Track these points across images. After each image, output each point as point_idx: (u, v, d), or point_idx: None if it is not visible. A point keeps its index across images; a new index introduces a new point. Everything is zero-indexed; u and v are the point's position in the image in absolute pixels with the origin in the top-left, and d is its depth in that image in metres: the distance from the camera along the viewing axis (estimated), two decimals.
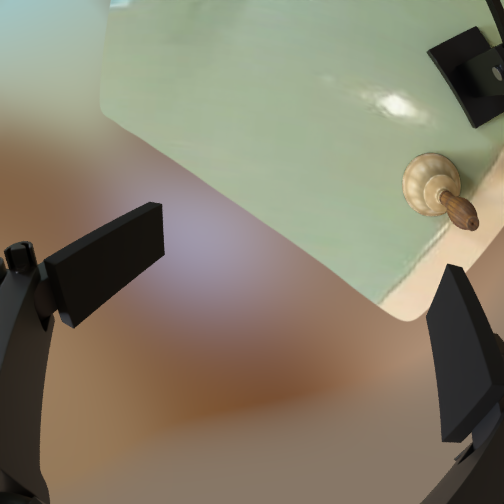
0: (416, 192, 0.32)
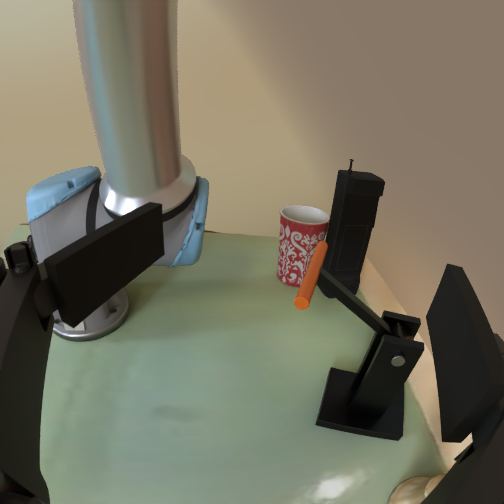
0: None
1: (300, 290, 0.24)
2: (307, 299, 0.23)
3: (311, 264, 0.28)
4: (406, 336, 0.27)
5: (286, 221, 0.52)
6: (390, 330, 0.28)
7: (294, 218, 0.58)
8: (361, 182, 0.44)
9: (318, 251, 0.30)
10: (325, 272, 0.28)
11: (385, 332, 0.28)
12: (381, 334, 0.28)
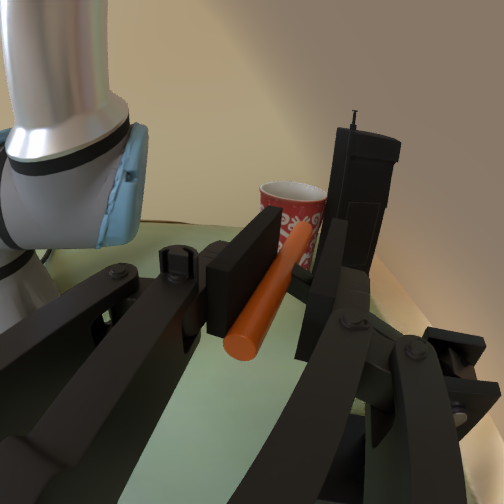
0: None
1: (238, 317, 0.11)
2: (250, 338, 0.10)
3: (275, 260, 0.14)
4: (465, 371, 0.13)
5: (267, 198, 0.38)
6: None
7: None
8: (369, 140, 0.30)
9: (293, 236, 0.17)
10: (305, 273, 0.14)
11: None
12: None
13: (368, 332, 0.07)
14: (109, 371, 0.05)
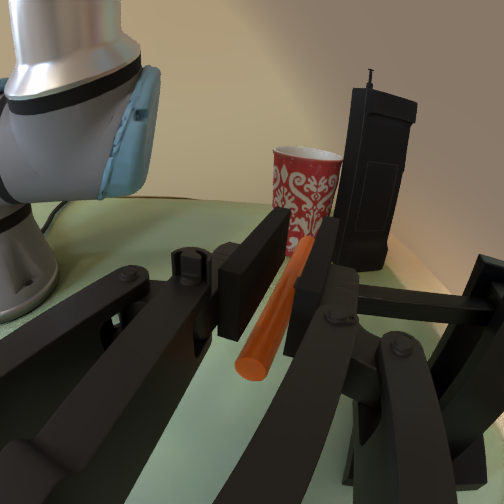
0: None
1: (245, 344, 0.11)
2: (253, 357, 0.10)
3: None
4: None
5: (282, 158, 0.35)
6: (487, 305, 0.11)
7: None
8: (386, 97, 0.28)
9: (293, 254, 0.17)
10: None
11: (480, 315, 0.11)
12: (475, 322, 0.11)
13: (354, 327, 0.07)
14: (118, 375, 0.05)
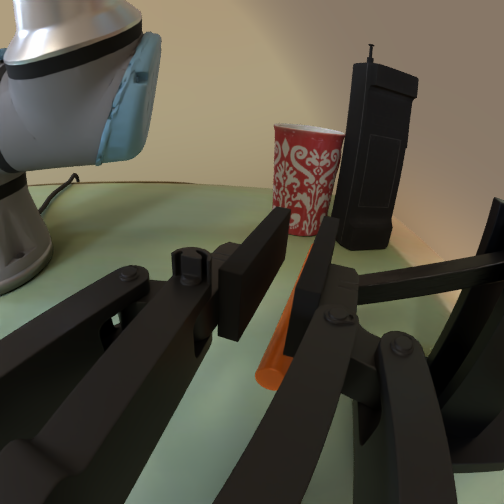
0: None
1: None
2: (270, 367, 0.10)
3: (291, 293, 0.15)
4: None
5: (283, 132, 0.34)
6: None
7: None
8: (387, 71, 0.26)
9: (304, 263, 0.17)
10: None
11: (500, 268, 0.10)
12: (498, 278, 0.10)
13: (354, 327, 0.07)
14: (118, 375, 0.05)
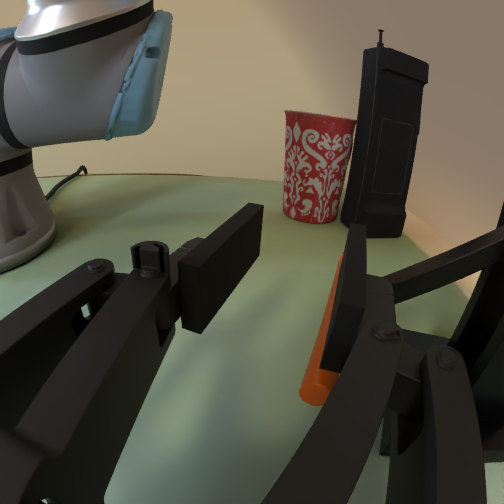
0: None
1: None
2: (312, 382, 0.09)
3: (326, 306, 0.14)
4: None
5: (294, 116, 0.32)
6: None
7: None
8: (398, 55, 0.25)
9: (335, 274, 0.16)
10: None
11: None
12: None
13: (400, 343, 0.07)
14: (88, 363, 0.05)
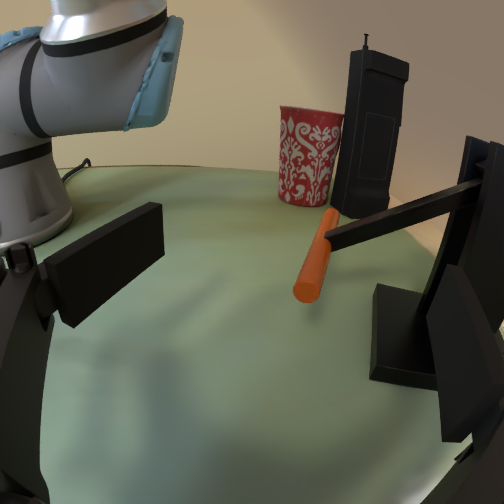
0: None
1: None
2: (303, 279, 0.13)
3: None
4: None
5: (288, 111, 0.36)
6: (478, 181, 0.13)
7: None
8: (381, 56, 0.29)
9: None
10: (334, 229, 0.17)
11: (476, 190, 0.13)
12: (477, 198, 0.13)
13: None
14: None
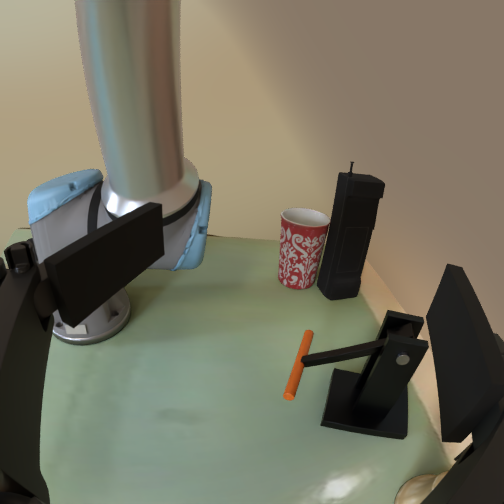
0: None
1: (285, 389, 0.30)
2: (287, 392, 0.29)
3: (295, 361, 0.34)
4: (399, 333, 0.28)
5: (287, 224, 0.52)
6: (384, 342, 0.29)
7: (295, 221, 0.58)
8: (361, 184, 0.45)
9: (301, 344, 0.36)
10: (306, 356, 0.33)
11: (381, 347, 0.29)
12: None
13: None
14: None
